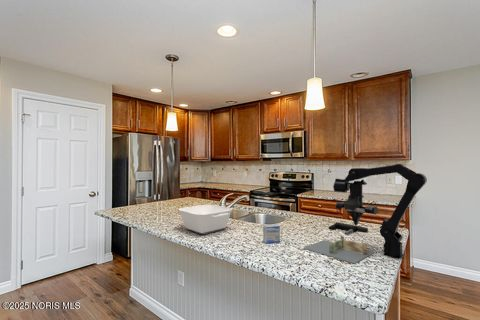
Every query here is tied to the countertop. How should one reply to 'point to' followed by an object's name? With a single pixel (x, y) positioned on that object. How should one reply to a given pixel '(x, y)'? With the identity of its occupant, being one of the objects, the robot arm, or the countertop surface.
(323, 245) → the card
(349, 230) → the door handle
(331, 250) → the folding panel
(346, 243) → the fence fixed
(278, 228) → the medicine box
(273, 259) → the countertop surface
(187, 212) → the tub
